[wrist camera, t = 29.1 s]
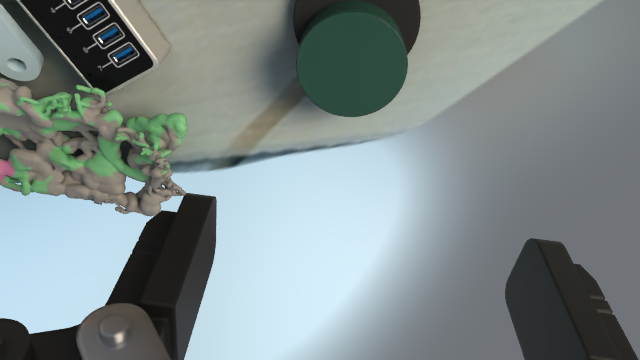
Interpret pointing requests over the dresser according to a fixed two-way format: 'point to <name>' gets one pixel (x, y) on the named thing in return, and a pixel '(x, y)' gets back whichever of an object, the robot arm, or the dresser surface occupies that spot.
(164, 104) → the dresser surface
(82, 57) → the multiport hub
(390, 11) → the coaster
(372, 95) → the lid
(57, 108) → the green tan irregular clump
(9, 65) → the mechanical part
